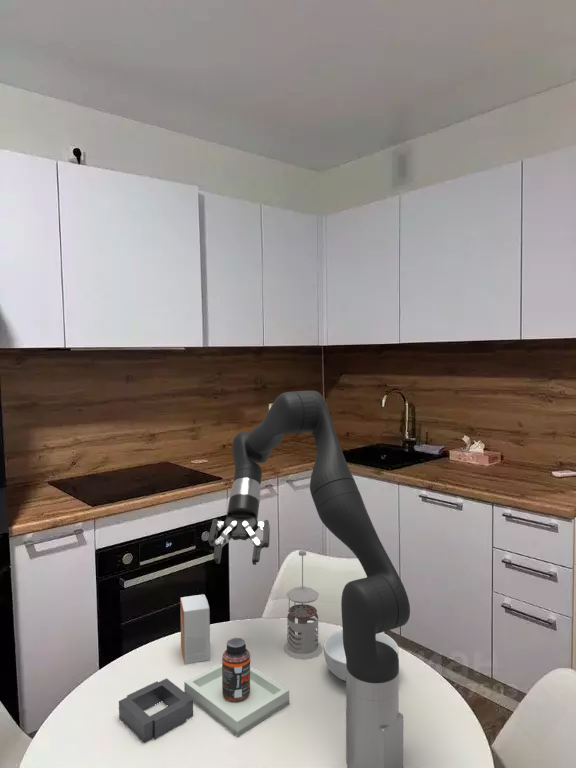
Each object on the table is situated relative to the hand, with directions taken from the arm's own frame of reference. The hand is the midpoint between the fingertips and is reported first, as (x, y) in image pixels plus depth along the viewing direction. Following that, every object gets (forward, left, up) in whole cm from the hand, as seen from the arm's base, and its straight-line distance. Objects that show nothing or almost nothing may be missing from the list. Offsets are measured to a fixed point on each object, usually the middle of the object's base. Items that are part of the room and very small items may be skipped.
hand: (235, 562), depth 121 cm
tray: (-8, +6, -26) cm, 28 cm away
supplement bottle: (-7, +6, -25) cm, 27 cm away
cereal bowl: (-21, -20, -26) cm, 39 cm away
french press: (-3, -19, -26) cm, 32 cm away
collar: (-1, +21, -26) cm, 33 cm away
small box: (+13, +2, -26) cm, 29 cm away
